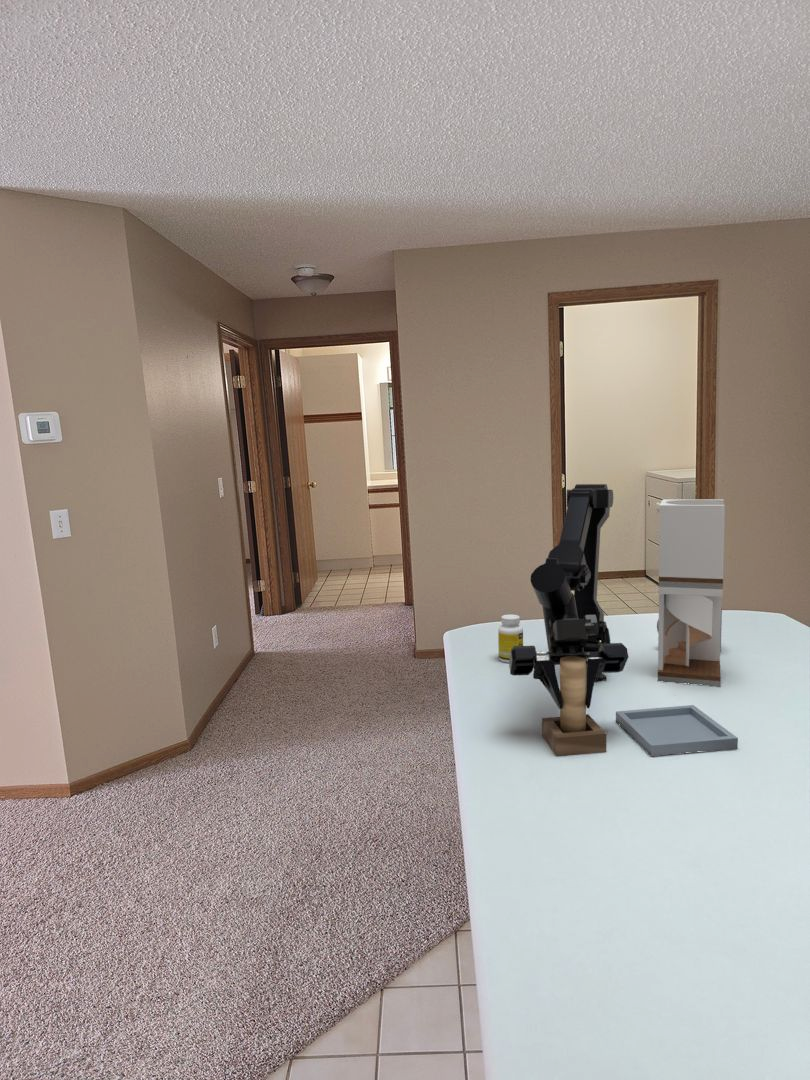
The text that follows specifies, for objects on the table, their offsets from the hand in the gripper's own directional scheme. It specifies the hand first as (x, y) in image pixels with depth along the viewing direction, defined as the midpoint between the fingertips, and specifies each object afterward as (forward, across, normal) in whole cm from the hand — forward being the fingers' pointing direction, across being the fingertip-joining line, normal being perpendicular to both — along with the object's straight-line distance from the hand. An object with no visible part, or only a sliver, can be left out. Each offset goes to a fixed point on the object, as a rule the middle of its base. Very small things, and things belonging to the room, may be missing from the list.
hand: (574, 707), depth 117 cm
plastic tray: (+2, +17, +7) cm, 18 cm away
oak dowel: (+4, 0, +6) cm, 7 cm away
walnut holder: (+4, 0, +6) cm, 7 cm away
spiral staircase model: (-18, +29, +27) cm, 44 cm away
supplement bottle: (-27, -5, +37) cm, 46 cm away
